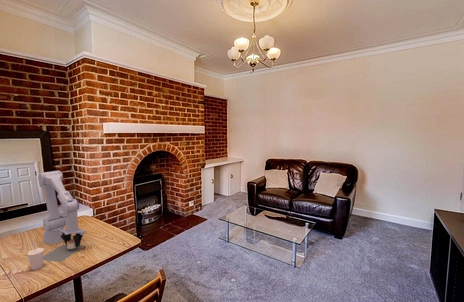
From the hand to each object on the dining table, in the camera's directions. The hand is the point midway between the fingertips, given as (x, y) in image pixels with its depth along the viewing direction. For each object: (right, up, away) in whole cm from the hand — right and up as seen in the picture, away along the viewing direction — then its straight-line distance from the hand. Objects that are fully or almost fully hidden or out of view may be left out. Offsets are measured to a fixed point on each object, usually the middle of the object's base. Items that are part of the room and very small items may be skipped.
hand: (73, 245), depth 122 cm
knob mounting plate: (-4, -4, -3) cm, 6 cm away
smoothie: (-6, -5, -16) cm, 18 cm away
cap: (0, 0, 0) cm, 0 cm away
